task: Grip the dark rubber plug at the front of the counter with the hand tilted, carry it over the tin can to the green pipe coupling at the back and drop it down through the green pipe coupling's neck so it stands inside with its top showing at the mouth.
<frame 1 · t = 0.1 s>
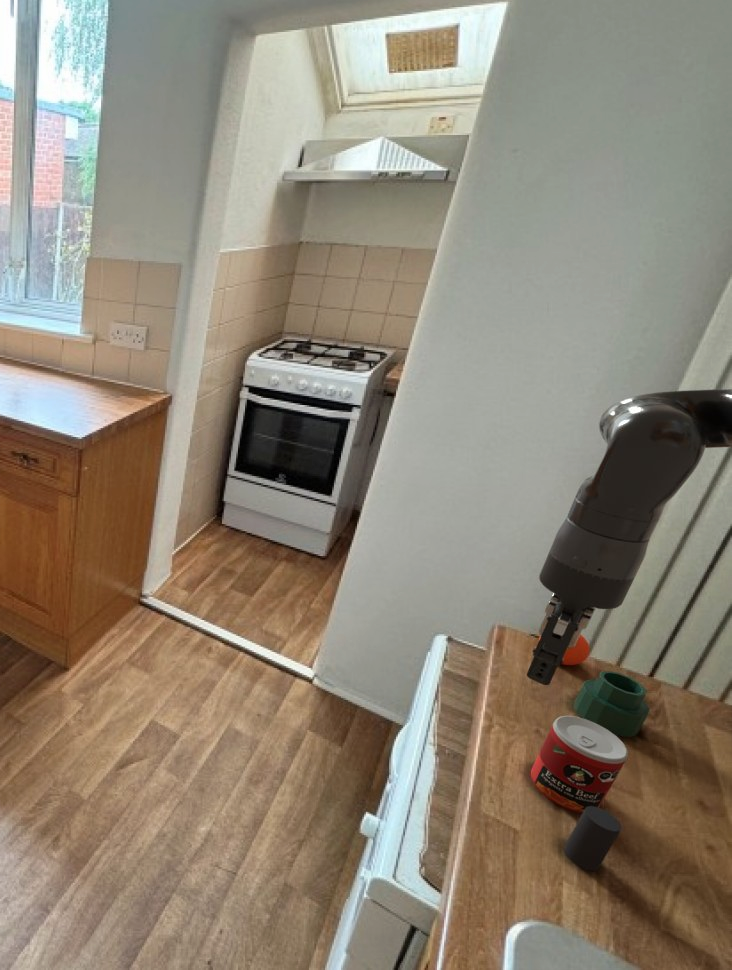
hand: (544, 665, 78), 25 cm above the countertop, tool pointing down, fingers open, 8 cm apart
clementine: (556, 662, 114), on the countertop
plug: (579, 860, 79), on the countertop
green pipe coupling: (603, 719, 101), on the countertop
canned food: (561, 792, 89), on the countertop
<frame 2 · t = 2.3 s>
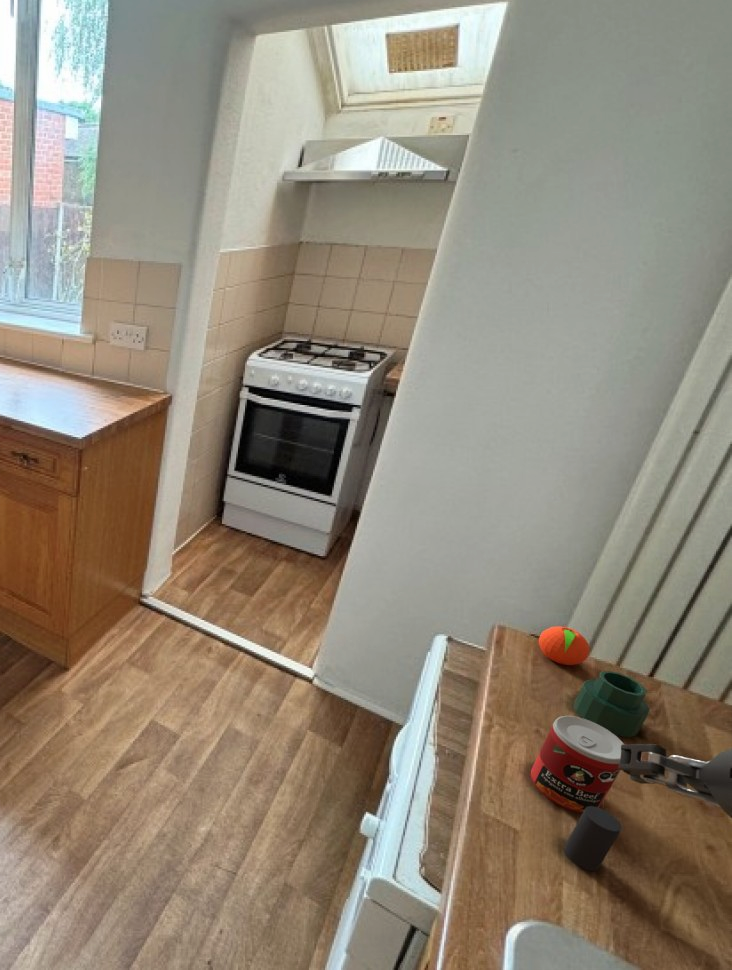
hand: (692, 792, 62), 25 cm above the countertop, tool tilted 45°, fingers open, 8 cm apart
nothing on the countertop moved.
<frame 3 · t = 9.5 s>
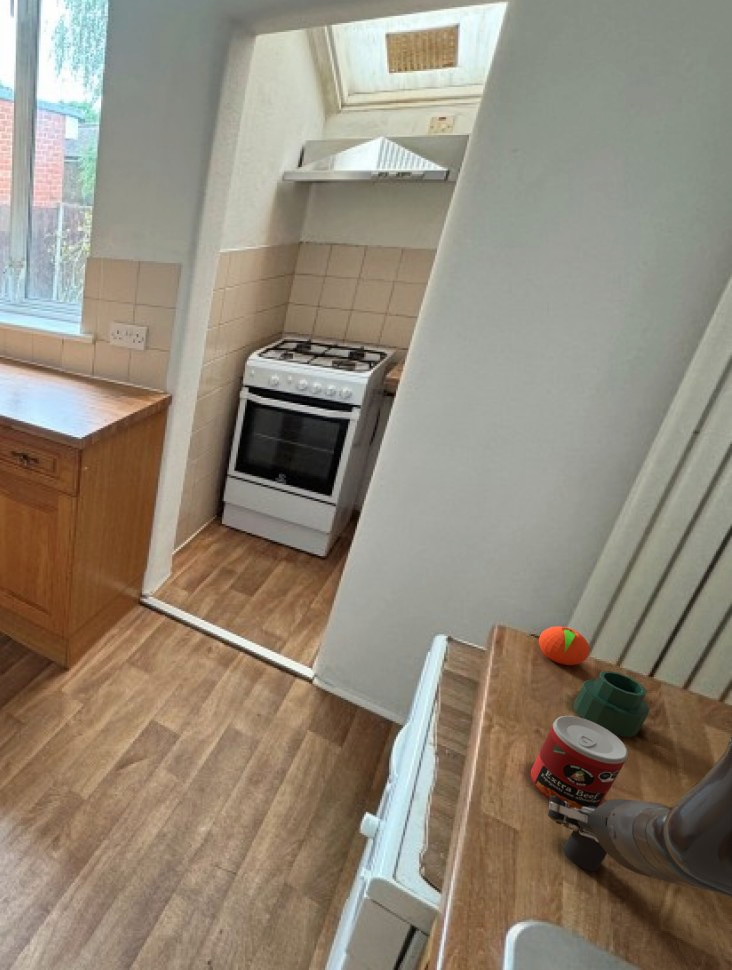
hand: (587, 827, 80), 4 cm above the countertop, tool tilted 45°, fingers closed on plug, 3 cm apart
plug: (579, 859, 79), on the countertop, touching gripper
everything else where it was.
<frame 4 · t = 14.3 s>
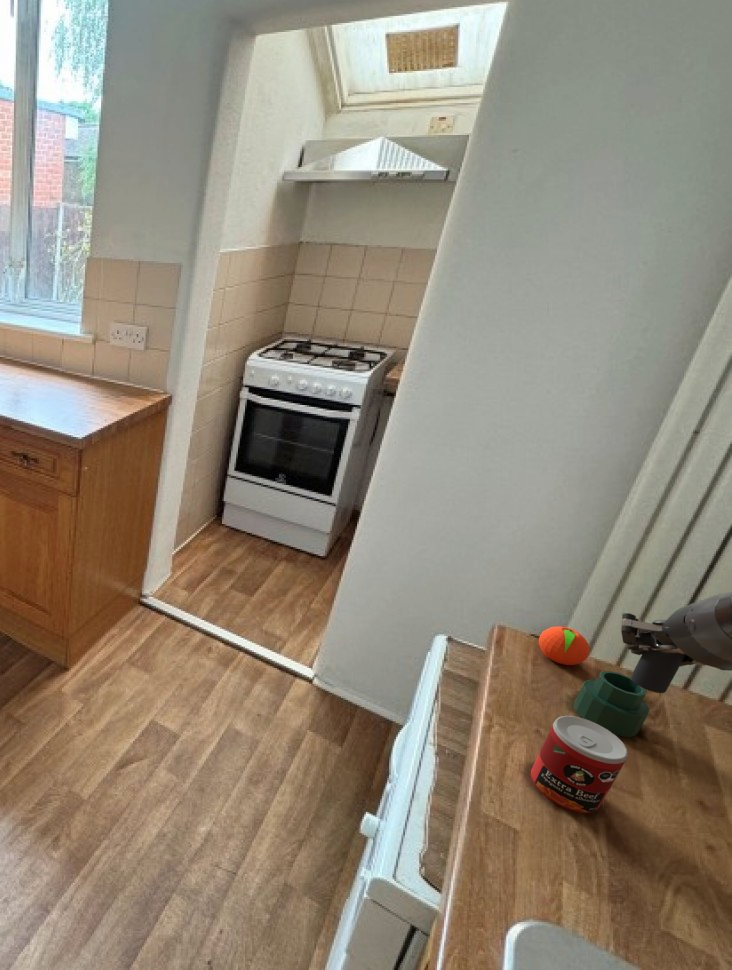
hand: (654, 652, 82), 24 cm above the countertop, tool tilted 45°, fingers closed on plug, 3 cm apart
plug: (648, 683, 82), point 20 cm above the countertop, touching gripper
everything else where it was.
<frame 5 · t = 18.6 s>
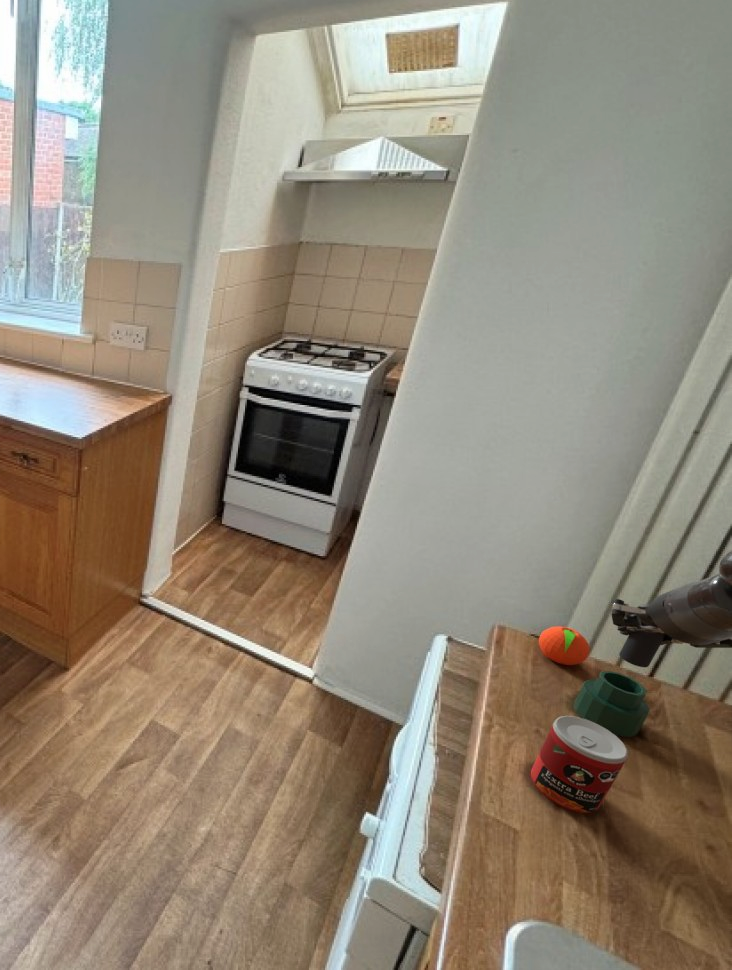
hand: (640, 633, 97), 17 cm above the countertop, tool tilted 45°, fingers closed on plug, 3 cm apart
plug: (633, 659, 97), point 13 cm above the countertop, touching gripper
everything else where it was.
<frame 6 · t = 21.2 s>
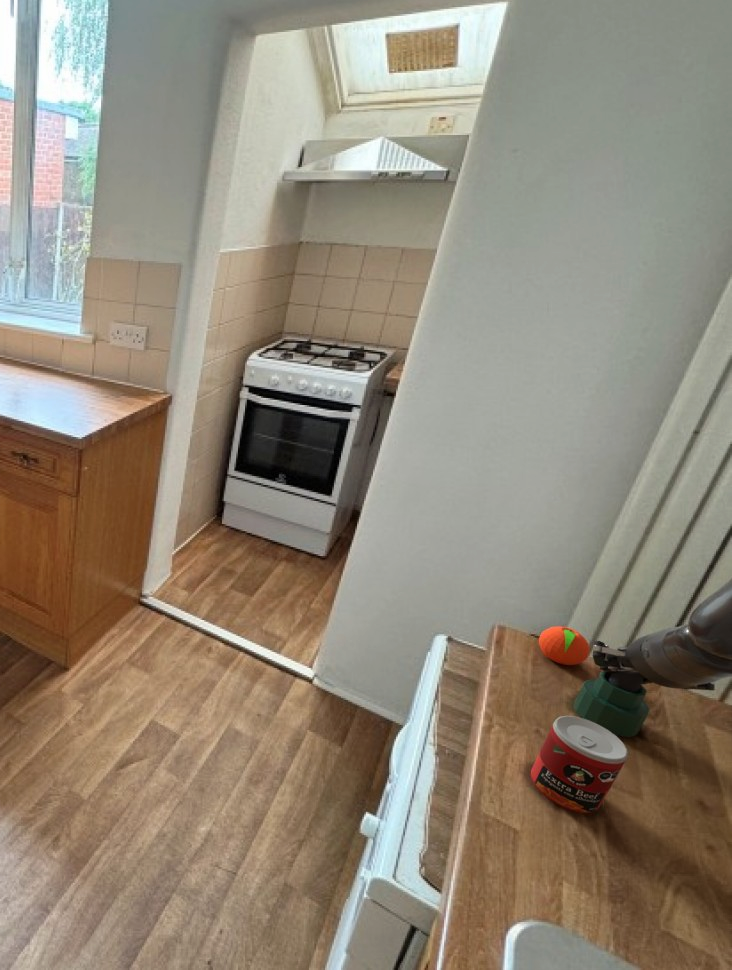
hand: (622, 672, 100), 9 cm above the countertop, tool tilted 45°, fingers closed on plug, 3 cm apart
plug: (616, 698, 99), point 5 cm above the countertop, touching gripper
everything else where it was.
when the fingers open (10 cm above the countertop, at t = 27.9 s): plug drops 6 cm, resting on green pipe coupling.
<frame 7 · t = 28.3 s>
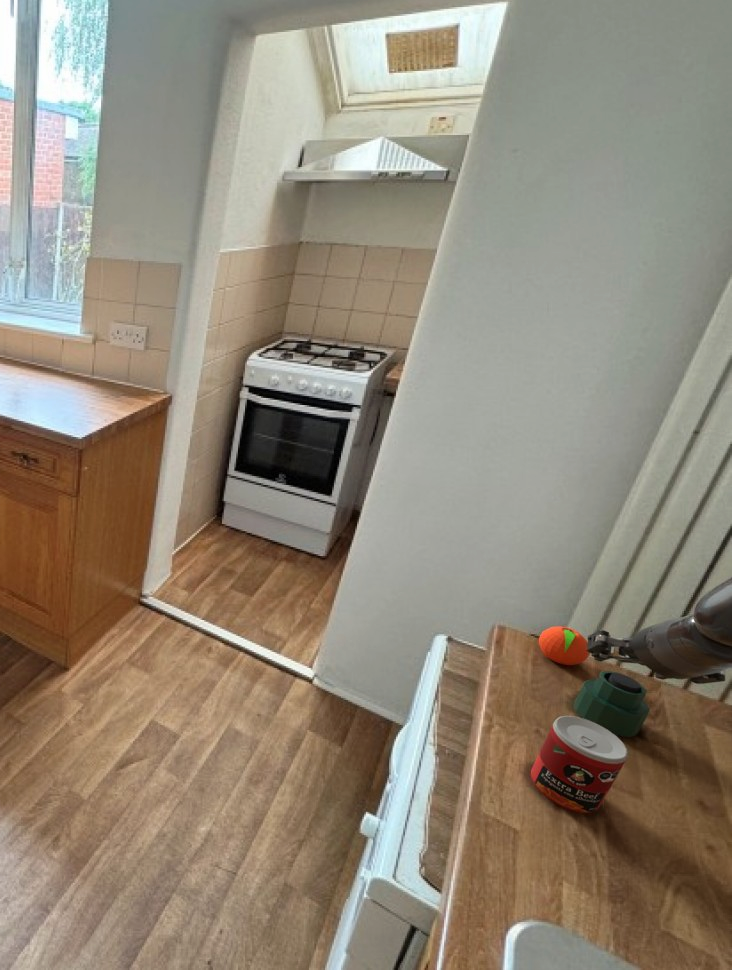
hand: (627, 663, 99), 11 cm above the countertop, tool tilted 45°, fingers open, 6 cm apart
plug: (606, 717, 101), point 1 cm above the countertop, touching green pipe coupling
everything else where it was.
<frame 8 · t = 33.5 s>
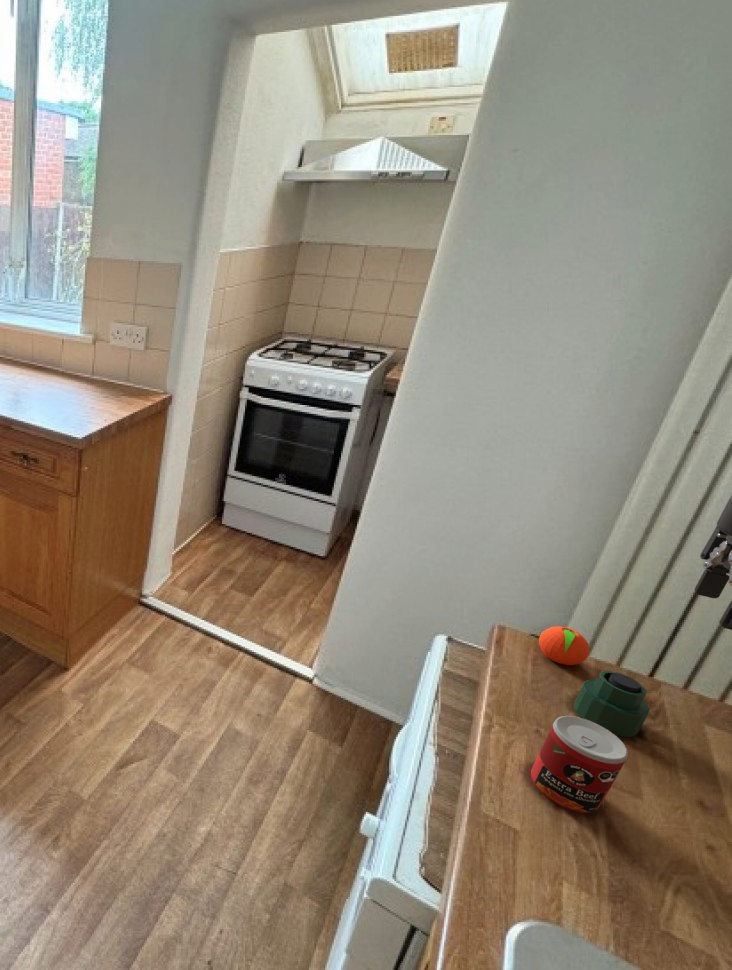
hand: (717, 611, 81), 30 cm above the countertop, tool pointing down, fingers open, 8 cm apart
nothing on the countertop moved.
at the end: plug 0.1 cm off-centre in the green pipe coupling, point 0.6 cm above the green pipe coupling's base; plug tilted 0°; the gripper is holding nothing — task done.
